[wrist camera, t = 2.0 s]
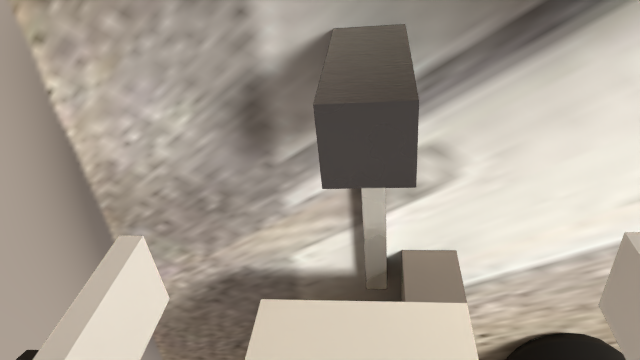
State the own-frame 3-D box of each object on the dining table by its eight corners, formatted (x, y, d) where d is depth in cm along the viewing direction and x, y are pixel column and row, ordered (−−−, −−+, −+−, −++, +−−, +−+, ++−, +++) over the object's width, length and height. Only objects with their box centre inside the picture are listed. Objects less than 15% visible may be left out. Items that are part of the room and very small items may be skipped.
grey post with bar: (333, 28, 26) (313, 104, 18) (405, 24, 25) (419, 100, 17) (351, 277, 37) (344, 394, 29) (401, 277, 36) (408, 397, 28)
